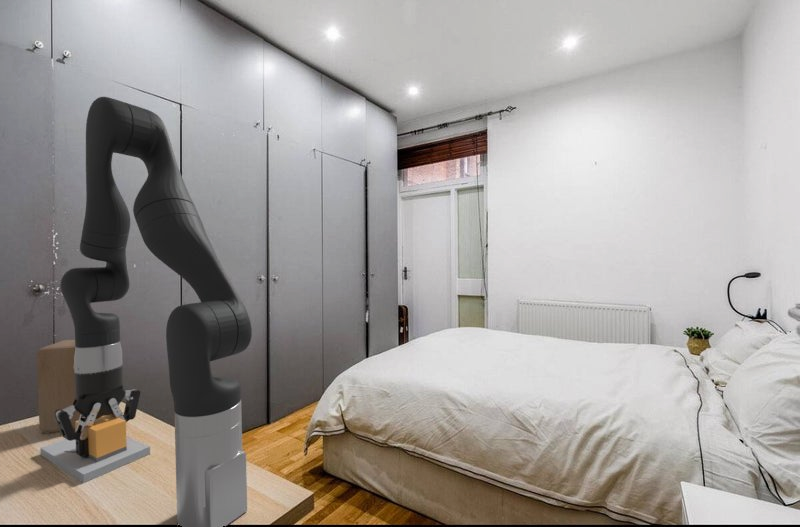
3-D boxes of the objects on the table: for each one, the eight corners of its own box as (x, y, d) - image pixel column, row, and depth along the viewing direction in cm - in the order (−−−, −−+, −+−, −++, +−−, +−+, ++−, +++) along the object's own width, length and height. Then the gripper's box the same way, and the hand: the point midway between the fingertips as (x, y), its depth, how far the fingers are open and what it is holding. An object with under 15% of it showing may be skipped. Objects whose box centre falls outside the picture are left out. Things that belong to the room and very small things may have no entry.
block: (37, 435, 84) (34, 349, 84) (64, 417, 94) (61, 339, 93) (89, 429, 87) (86, 345, 86) (110, 412, 96) (107, 336, 96)
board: (150, 453, 75) (150, 446, 75) (83, 482, 66) (83, 474, 66) (104, 432, 85) (103, 425, 85) (40, 454, 76) (40, 447, 76)
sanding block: (126, 450, 74) (125, 420, 74) (96, 462, 70) (95, 431, 70) (105, 439, 78) (104, 411, 78) (76, 450, 74) (75, 421, 74)
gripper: (60, 379, 66) (63, 473, 66) (147, 359, 78) (150, 438, 78) (44, 373, 69) (47, 462, 70) (129, 355, 82) (132, 430, 82)
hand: (101, 449), depth 74 cm, fingers closed on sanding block, 5 cm apart
